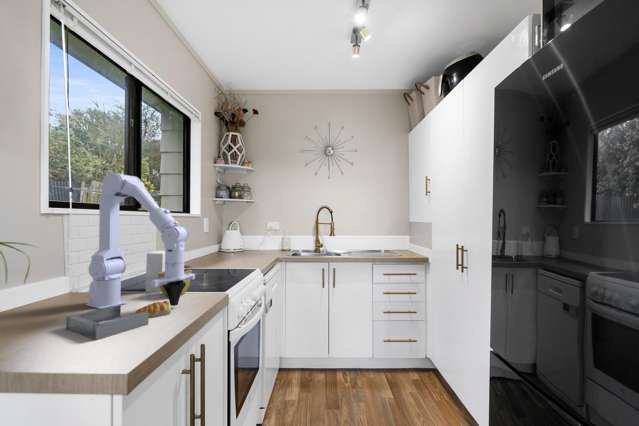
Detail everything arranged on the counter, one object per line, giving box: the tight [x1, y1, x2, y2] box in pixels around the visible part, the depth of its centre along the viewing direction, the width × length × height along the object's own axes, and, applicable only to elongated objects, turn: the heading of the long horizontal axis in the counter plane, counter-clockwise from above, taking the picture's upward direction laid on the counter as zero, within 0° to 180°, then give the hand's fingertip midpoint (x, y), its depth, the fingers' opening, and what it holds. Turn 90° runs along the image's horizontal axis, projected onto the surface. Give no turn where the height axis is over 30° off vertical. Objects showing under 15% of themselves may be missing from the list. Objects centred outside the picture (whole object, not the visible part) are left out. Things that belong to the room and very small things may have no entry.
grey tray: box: [65, 304, 149, 341], centre depth 82 cm, size 15×13×3 cm
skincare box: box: [145, 250, 165, 293], centre depth 125 cm, size 8×7×16 cm
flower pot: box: [158, 269, 193, 297], centre depth 117 cm, size 9×9×9 cm
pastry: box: [134, 300, 172, 319], centre depth 93 cm, size 9×7×4 cm
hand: (173, 305), depth 100 cm, fingers closed
